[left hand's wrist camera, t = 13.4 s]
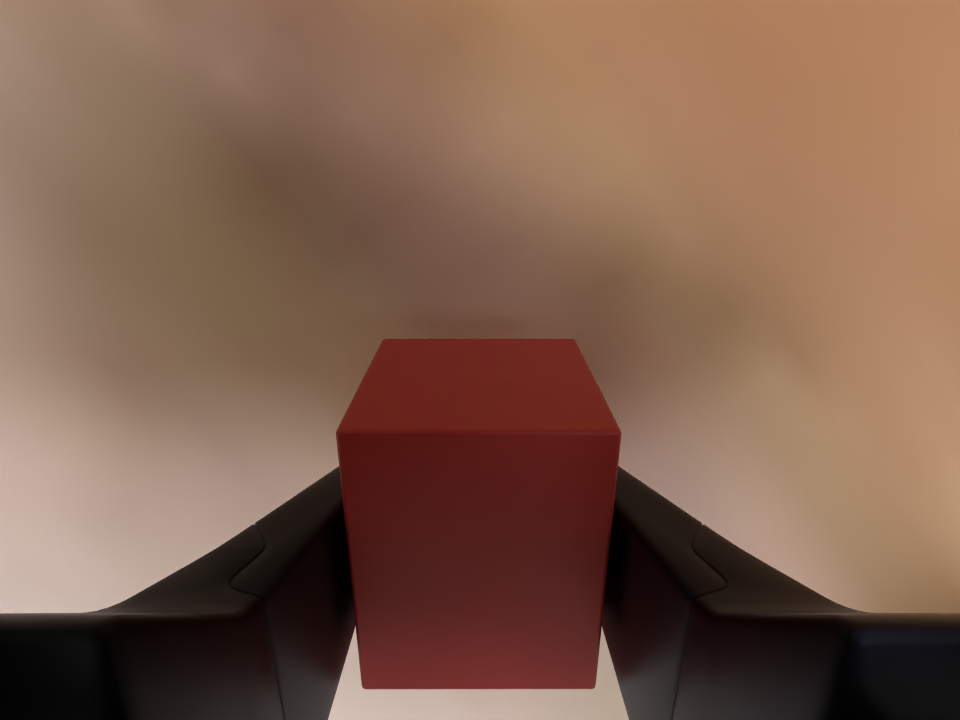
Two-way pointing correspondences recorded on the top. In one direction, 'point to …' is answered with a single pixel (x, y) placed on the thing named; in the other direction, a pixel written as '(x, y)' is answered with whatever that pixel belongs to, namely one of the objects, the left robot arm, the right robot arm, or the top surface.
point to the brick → (478, 514)
